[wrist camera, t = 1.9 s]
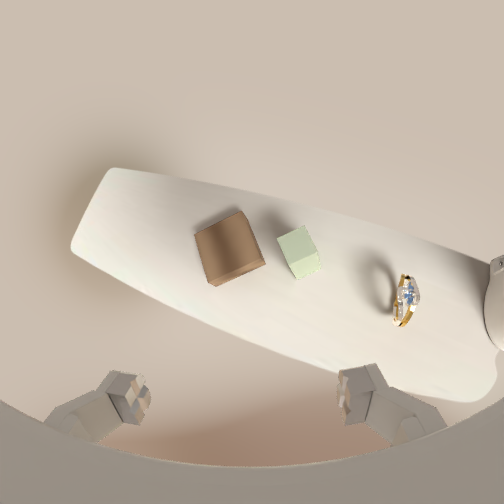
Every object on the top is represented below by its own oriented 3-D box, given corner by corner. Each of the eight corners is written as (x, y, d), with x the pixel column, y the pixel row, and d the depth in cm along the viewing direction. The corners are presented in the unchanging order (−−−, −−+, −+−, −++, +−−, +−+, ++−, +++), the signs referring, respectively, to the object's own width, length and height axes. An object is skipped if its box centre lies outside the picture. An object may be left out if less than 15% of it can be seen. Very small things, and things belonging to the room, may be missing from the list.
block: (310, 246, 42) (304, 225, 35) (321, 269, 40) (317, 251, 33) (287, 257, 42) (276, 238, 35) (297, 280, 41) (288, 265, 34)
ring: (390, 279, 36) (402, 264, 29) (410, 284, 35) (425, 269, 28) (380, 325, 35) (391, 320, 28) (400, 330, 34) (415, 325, 26)
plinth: (247, 218, 47) (241, 210, 44) (265, 264, 43) (260, 258, 40) (201, 241, 48) (194, 234, 45) (215, 286, 44) (207, 282, 42)
